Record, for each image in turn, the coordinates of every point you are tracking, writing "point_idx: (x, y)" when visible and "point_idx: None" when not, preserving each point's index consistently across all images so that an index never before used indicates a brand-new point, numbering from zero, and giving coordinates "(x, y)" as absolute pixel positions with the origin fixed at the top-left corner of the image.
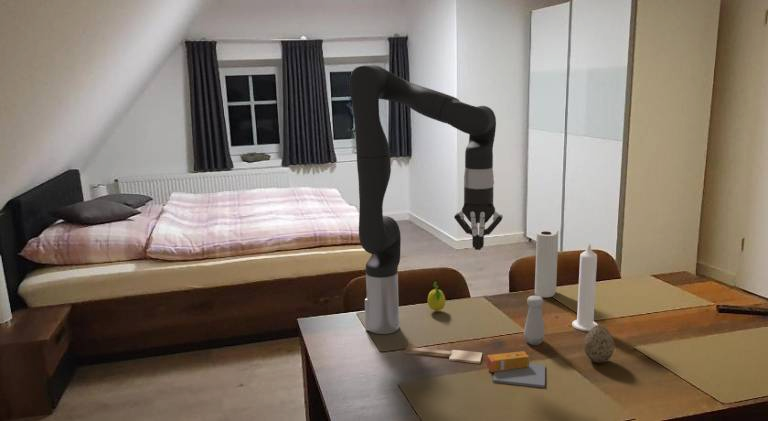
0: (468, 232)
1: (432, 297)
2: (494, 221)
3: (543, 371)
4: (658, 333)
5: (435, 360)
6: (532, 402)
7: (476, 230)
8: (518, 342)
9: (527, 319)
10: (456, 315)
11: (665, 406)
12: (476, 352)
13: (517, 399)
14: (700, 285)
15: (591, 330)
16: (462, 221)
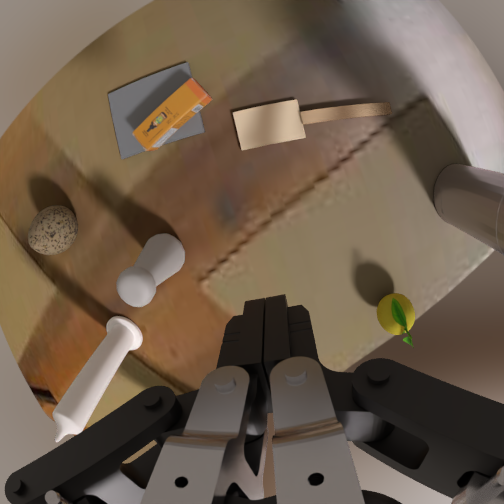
0: (367, 370)
1: (406, 305)
2: (58, 483)
3: (118, 135)
4: (55, 333)
5: (321, 90)
6: (119, 48)
7: (273, 410)
8: (193, 233)
9: (163, 258)
10: (347, 301)
11: (6, 147)
12: (253, 146)
13: (139, 41)
14: None
15: (44, 233)
16: (482, 449)
